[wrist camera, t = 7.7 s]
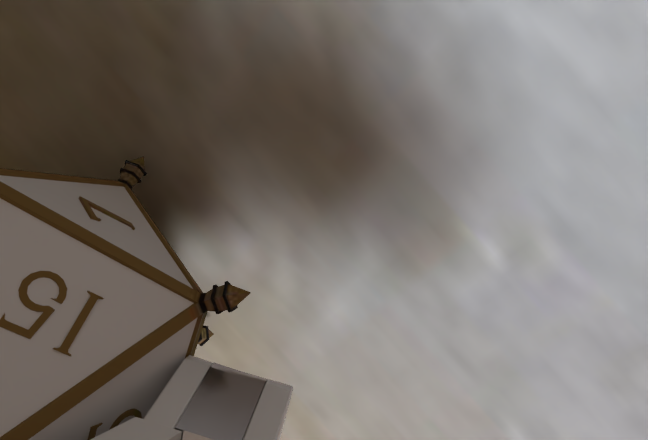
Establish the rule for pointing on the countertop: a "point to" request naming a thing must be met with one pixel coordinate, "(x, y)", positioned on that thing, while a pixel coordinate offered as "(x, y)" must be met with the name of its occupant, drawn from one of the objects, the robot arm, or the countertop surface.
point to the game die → (89, 305)
